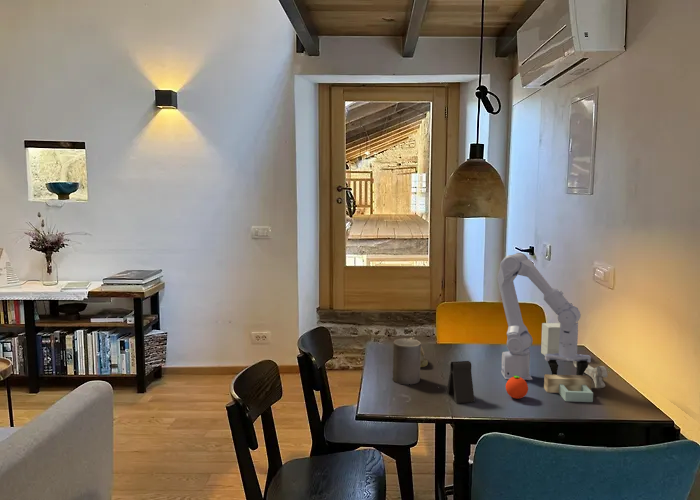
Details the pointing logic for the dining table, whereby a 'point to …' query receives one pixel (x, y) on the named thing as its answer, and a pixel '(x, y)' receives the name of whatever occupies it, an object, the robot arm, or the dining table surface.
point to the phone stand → (460, 382)
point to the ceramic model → (422, 357)
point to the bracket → (576, 394)
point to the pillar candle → (406, 361)
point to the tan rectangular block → (566, 382)
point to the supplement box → (550, 338)
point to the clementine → (516, 387)
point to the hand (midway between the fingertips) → (566, 381)
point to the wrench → (596, 374)
